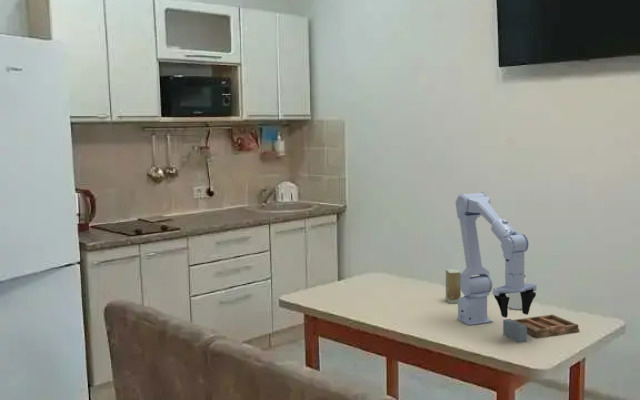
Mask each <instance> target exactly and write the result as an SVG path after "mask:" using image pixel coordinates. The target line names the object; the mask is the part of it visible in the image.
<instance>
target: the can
mask: <svg viewBox="0 0 640 400" xmlns="http://www.w3.org/2000/svg"><path fill="white" fill-rule="evenodd" d="M524 284H528V280H527V277H526V275H525V274H524ZM507 297H509V298H510V299H509V302H508V308H509V309H511V310H516V311H518V310H519V311H522V299H521V294H520V292H518V293H510V294H507Z"/></svg>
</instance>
